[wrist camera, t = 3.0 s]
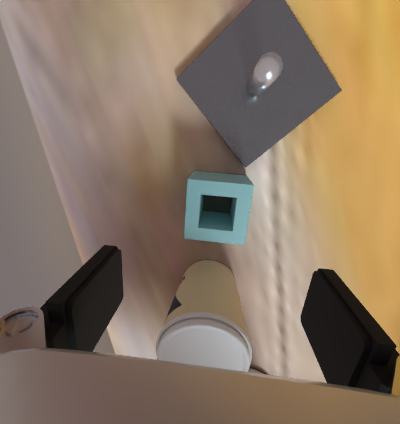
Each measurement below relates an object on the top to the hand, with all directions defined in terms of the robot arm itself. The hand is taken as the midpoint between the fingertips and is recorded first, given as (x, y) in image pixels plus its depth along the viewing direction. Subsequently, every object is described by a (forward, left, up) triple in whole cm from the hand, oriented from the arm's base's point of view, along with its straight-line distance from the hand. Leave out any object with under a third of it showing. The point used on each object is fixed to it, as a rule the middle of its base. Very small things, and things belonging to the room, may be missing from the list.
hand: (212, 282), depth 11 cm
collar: (0, 0, -18) cm, 18 cm away
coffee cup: (-9, -9, -18) cm, 23 cm away
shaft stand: (+11, +7, -18) cm, 22 cm away
